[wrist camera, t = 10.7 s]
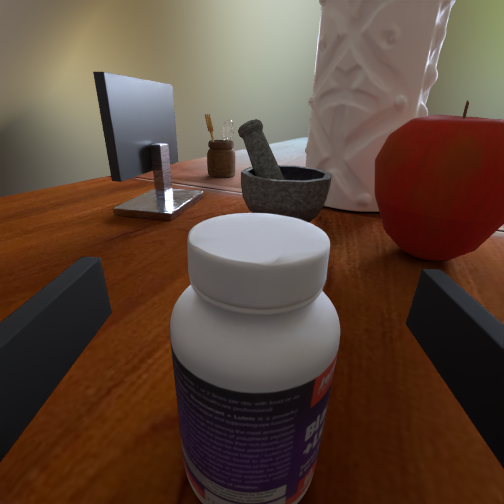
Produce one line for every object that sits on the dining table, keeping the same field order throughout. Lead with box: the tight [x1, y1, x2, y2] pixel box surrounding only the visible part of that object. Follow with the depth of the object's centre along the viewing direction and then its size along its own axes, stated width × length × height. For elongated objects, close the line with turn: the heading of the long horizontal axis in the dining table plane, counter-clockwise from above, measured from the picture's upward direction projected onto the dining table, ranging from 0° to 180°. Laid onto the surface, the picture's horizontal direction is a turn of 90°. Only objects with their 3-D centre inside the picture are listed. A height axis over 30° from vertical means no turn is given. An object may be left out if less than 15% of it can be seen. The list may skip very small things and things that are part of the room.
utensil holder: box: [205, 114, 235, 178], centre depth 62 cm, size 6×6×12 cm
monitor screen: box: [93, 72, 178, 182], centre depth 40 cm, size 1×16×11 cm, turn 168°
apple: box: [374, 101, 504, 261], centre depth 28 cm, size 12×12×14 cm
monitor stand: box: [113, 143, 203, 221], centre depth 42 cm, size 8×12×8 cm, turn 169°
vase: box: [305, 0, 455, 212], centre depth 43 cm, size 17×16×32 cm
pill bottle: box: [170, 213, 340, 504], centre depth 11 cm, size 5×5×10 cm
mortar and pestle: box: [238, 119, 332, 223], centre depth 33 cm, size 11×9×12 cm
